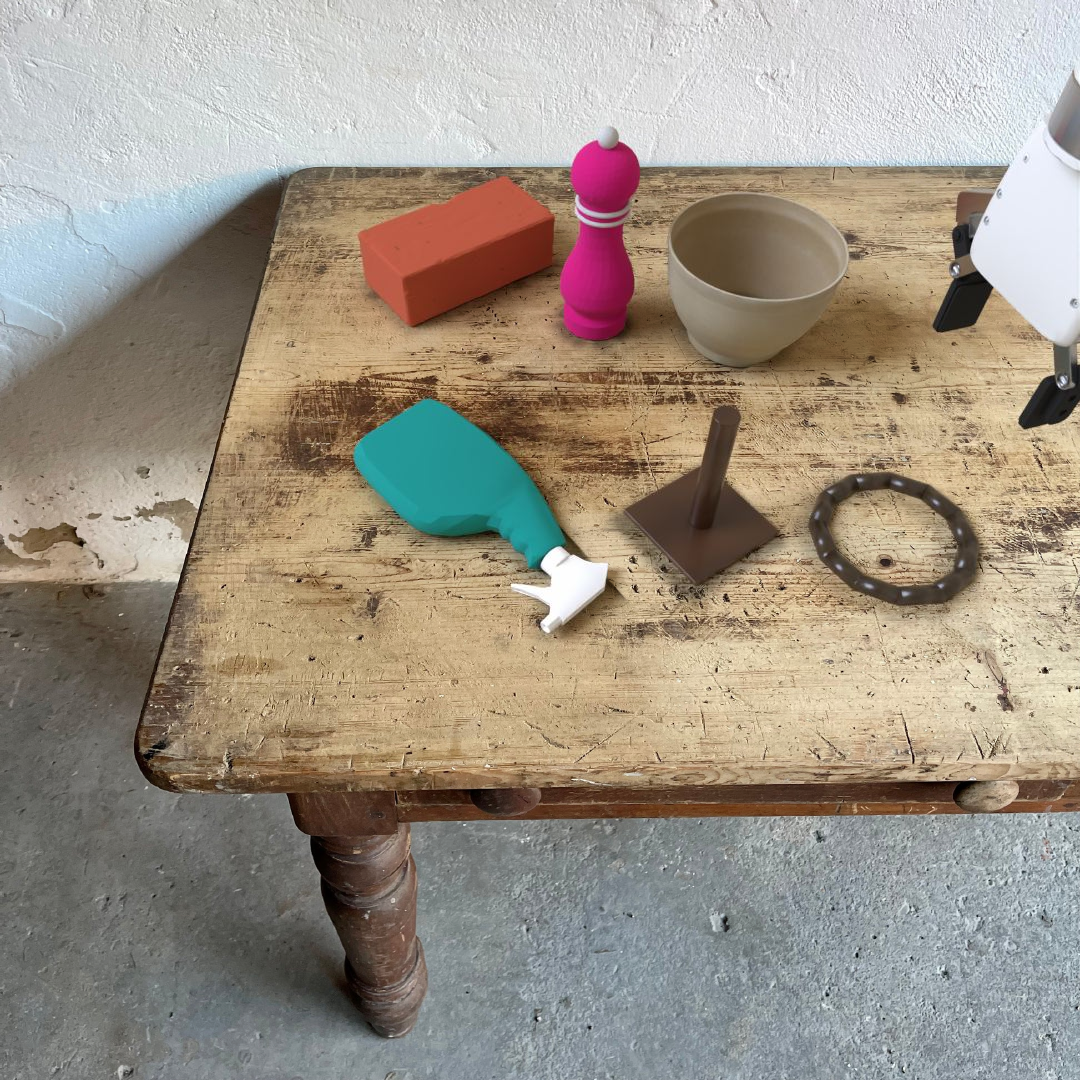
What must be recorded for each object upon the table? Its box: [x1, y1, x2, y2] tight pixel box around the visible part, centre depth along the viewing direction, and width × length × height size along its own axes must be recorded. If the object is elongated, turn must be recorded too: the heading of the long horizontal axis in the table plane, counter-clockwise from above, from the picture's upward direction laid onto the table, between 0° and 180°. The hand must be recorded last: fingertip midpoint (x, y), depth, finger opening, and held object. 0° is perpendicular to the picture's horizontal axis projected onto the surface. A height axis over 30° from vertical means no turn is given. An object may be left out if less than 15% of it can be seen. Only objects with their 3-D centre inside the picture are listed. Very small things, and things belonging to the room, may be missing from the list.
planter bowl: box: [667, 191, 850, 368], centre depth 84 cm, size 16×16×11 cm
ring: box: [807, 471, 981, 607], centre depth 72 cm, size 13×13×2 cm
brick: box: [357, 175, 556, 327], centre depth 91 cm, size 18×9×6 cm, turn 126°
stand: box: [622, 405, 780, 587], centre depth 68 cm, size 9×9×13 cm
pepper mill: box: [559, 125, 641, 341], centre depth 82 cm, size 7×7×20 cm
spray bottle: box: [353, 398, 609, 634], centre depth 73 cm, size 3×11×24 cm
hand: (993, 372), depth 60 cm, fingers open, 9 cm apart
